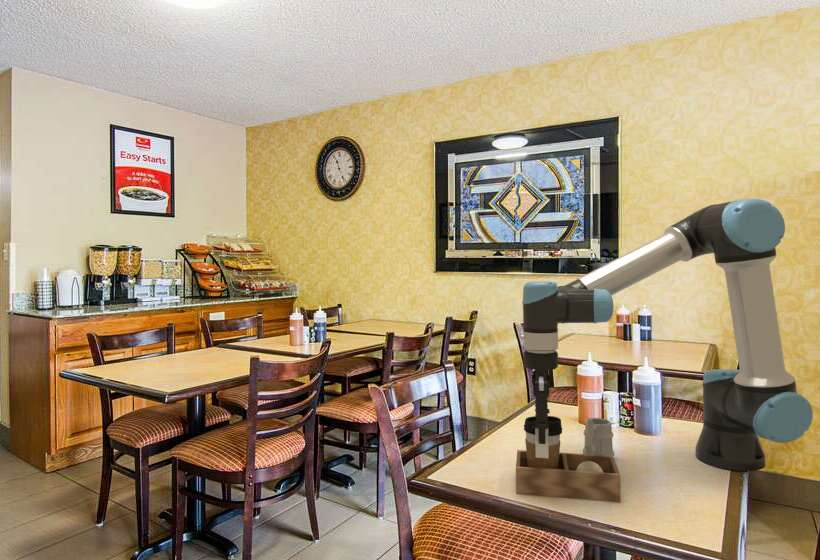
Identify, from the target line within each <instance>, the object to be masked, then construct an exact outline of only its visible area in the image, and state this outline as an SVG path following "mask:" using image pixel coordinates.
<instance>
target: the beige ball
mask: <svg viewBox="0 0 820 560" xmlns="http://www.w3.org/2000/svg"><path fill="white" fill-rule="evenodd" d="M576 471H588V472H602V473H603V470H602V468H601V467H600V466H599V465H598V464H596V463H595V462H592V461H585V462H582V463H581V464H579V466H578V467H577V469H576Z"/></svg>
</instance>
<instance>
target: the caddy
mask: <svg viewBox="0 0 820 560" xmlns="http://www.w3.org/2000/svg"><path fill="white" fill-rule="evenodd" d="M515 460H516V462H515V494H516V495H524V496H526V495H527V496H536V497H537V496H539V497H550V498H563V499H573V500H574V499H575V500H587V501H598V502H599V501H601V502H611V503H621V502H622V501H621V499H622V498H621V497H622V496H621V495H622V494H621V493H622V492H621V490H622V489H621V483H622V482H621V479H622V477H621V474H620V470H619V468H618V466H617V463H616V461H615V459H614V457H613V456H606V455H591V454H583V453H574V452H573V453H571V452H559V460H558V469H545V468H531V467H528V464H527V452H526V450H524V449H517V451H516V459H515ZM585 461H592V462H595V463H596V464H598V465H599V466H600V467H601V468H602V470H603V473H602V472H588V471H576V469H577V467H578V466H579V464H581V463H582V462H585Z"/></svg>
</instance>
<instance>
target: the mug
mask: <svg viewBox="0 0 820 560" xmlns="http://www.w3.org/2000/svg"><path fill="white" fill-rule="evenodd" d="M584 420H585V421H584V423H585V424H584V430H583V435H584V447H583V448H582V454H591V455H606V456H613V458H614V457H615V451H614V450H613V449H614V448H613V447H614V446H613V436H614V433H613V430H612V422H611V420H609V419H606V418H600V417H590V418H586V419H584Z"/></svg>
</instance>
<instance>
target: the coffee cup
mask: <svg viewBox="0 0 820 560" xmlns="http://www.w3.org/2000/svg"><path fill="white" fill-rule="evenodd" d="M543 423H545V422H543ZM535 424H536V416H535V415H534V416H528V417H526V418H525V421H524V425H523V430H524V432H525V438H524V439H525V440H524V441H525V449H526V452H527V464H528V467H531V468H545V469H558V460H559V453H560V451H561V440H560V439H561V434H562V433H563V426H562V419H561V418H559V417H558V416H554V415H553V416H552V415H548V424H549V427H548V455H549V458H536V446H535V428H532V425H535Z"/></svg>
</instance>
